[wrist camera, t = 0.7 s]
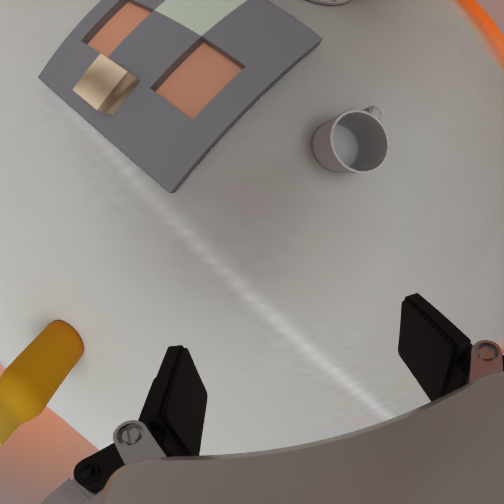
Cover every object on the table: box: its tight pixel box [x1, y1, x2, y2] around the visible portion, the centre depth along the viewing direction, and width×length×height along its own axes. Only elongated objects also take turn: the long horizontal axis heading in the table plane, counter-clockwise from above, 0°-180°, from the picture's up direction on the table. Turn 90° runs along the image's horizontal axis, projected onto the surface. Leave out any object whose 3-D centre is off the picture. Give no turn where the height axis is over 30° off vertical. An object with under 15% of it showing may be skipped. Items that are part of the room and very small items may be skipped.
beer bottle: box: [0, 321, 83, 445], centre depth 30 cm, size 9×9×29 cm
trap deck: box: [38, 0, 322, 193], centre depth 28 cm, size 30×34×2 cm
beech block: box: [73, 54, 140, 115], centre depth 27 cm, size 6×6×4 cm
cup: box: [312, 106, 389, 174], centre depth 30 cm, size 7×10×9 cm
